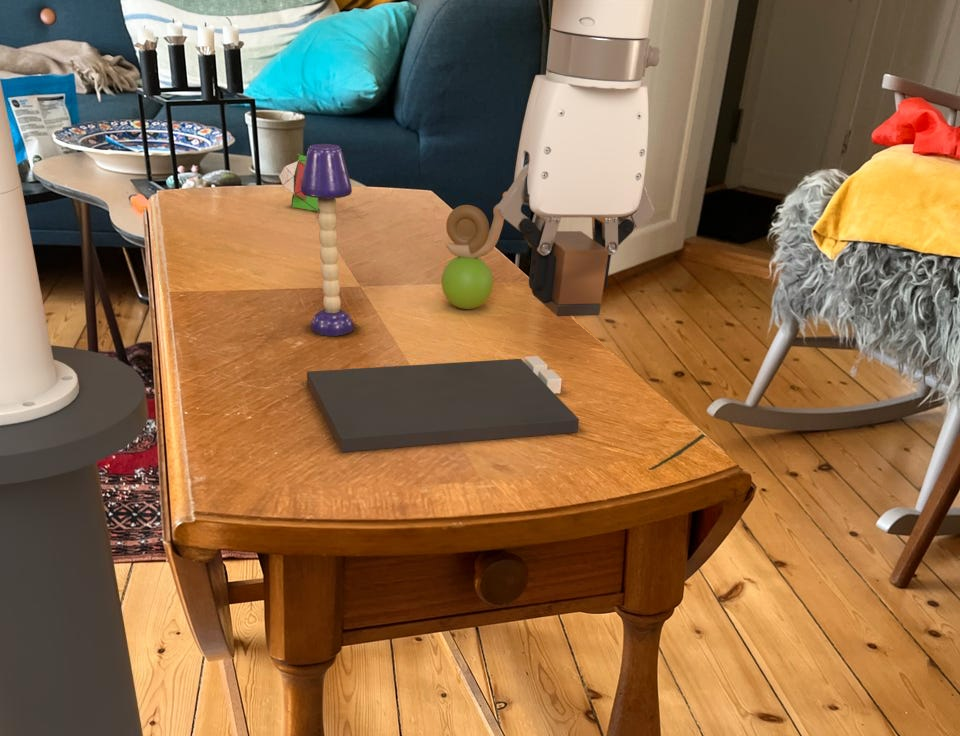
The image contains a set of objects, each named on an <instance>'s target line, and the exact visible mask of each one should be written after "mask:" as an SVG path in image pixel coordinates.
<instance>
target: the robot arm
mask: <svg viewBox="0 0 960 736" xmlns="http://www.w3.org/2000/svg"><path fill="white" fill-rule="evenodd" d="M653 6H654V0H552V9H551V10H552V11H551V20H550V29H549V40H548V49H547V61H546V69H545V74H536V75H535V76H534V78H533V82H532V85H531V89H530V92H529V96H528V101H527V104H526V108H525V114H524V117H523V121H522V127H521V132H520V138H519V143H518V149H517V156H516V163H515V169H514V178H513V182H512V184H511V185H510V187H509V188H508V190H507V191H506V192H507V193H506V194H505V196H504V197H503V196H502V198H501V200H500V201H499V203H498V204H499V205H498V206H497V213H498V214H499V215H500V216H502V217H503V218H504V221H506V222H508V223H509V224H510V225H512V226H513V227H514V228H515V229H516V230H517V231H518V233H519V234H520V235H521V236H522V237H523V239H524V240H525V241H526V243H527V245H529V247H530V248H531V254H530V266H529V274H528V286H529V288H530V290H531V293H532V296H534V295H535V296H536V297H537V298H538V299H539V300H540V301H541V302H540V301H539V300H538V299H537V298H536V297H535V296H534V297H535V298H536V299H537V300H538V301H539V302H540V303H542V302H543V303H549V302H550V301H551V300H552V293H553V284H554V276H555V268H556V256H554V255H553V254H552V250H553V243H554V240H555V237H556V233H557V231H559V227H560V223H561V219H562V218H591V231H592V239H593V240H594V241H596V242H597V243H599V244H600V245H602V246H603V247H605V248H606V249H608V250H609V253H608V260H607V266H606V273H605V280H604V287H603V290H605V289H606V288H607V285H608V278H609V273H610V272H609V271H610V265H611V258H612V255H615V254H617V252H618V250H619V246H620V245H621V244H622V243H623V242H624V241H626V239H627V238H628V237H629V236H631V234H632V233H633V231H634V229H636V228H637V229H638V228H639V227H640V226H642V225H643V224H645V223H646V222H648V221H649V220H651V219H652V218H653V217H654V215H655V209H654V206H653V204H652V201H651V199H650V196H649V194H648V191H647V189H646V186H645V175H646V168H647V156H648V147H649V145H648V143H649V122H650V121H649V91H648V85H647V84H645V83H643V82H642V81H643V78H644V77H645V74H646V69H647V68H649V67H657V66H658V64H659V62H660V61H661V60H660V59H661V51H660V48H659V47H657V46H652V45H650V41H651V40H650V38H649V32H650V28H651V27H650V26H651V19H652V13H653ZM524 205H525V206H528V207H529V208H530V211H531V212H533V213H534V214H533V217H532V220H531V219H530V218H529V217H528V216H527V215H525V214H524V213H523V212H522V206H524ZM27 213H28V212H27V208H26V202H25V198H24V193H23V187H22V182H21V177H20V172H19V166H18V161H17V157H16V150H15V146H14V141H13V135H12V130H11V125H10V120H9V116H8V111H7V105H6V101H5V96H4V90H3V86H2V82H1V80H0V426H4V425H11V424H18V423H22V422H27V421H31V420H35V419H38V418H42V417H45V416H48V415H50V414H52V413H55V412H57V411H59V410H61V409H63V408H64V407H66V406H68V405H69V404H70V403H71V402H72V401H73V400H74V399H75V398H76V396H77V395H78V393H79V383H78V378H77V374H76V373H75V372H74V370H73V369H72V368H70V367H69V366H67V365H66V364H64V363H61V362H59V361H57V360H53V354H52V349H51V345H52V344H51V338H50V332H49V328H48V323H47V315H46V312H45V305H44V301H43V295H42V289H41V284H40V279H39V274H38V268H37V262H36V258H35V251H34V246H33V241H32V235H31V231H30V230H31V229H30V224H29V219H28V214H27ZM543 303H542V304H543Z"/></svg>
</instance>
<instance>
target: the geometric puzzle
mask: <svg viewBox="0 0 960 736" xmlns="http://www.w3.org/2000/svg"><path fill="white" fill-rule="evenodd" d="M306 156H307V155H306V154H305V155H303V154H299V153H297V159H296V161H293V162H290V163H288V164H287V165H284V167H283V168H282V170H281V172H280V174H279V175H278V178H279V180H280V183H281V185H282V187H283V188H284V189H287V190H288V191H289V192H291V193H292V197H291V203H290V204H289V205H290V208H296V209H301V210H307V211H314V212H318V213H320V210H319V208H318V202H317V201H318V198H314V197H309V196H306V195H304V194H303V193H302V191H301V185H302V179H303V173H304V167H305V162H306Z"/></svg>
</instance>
